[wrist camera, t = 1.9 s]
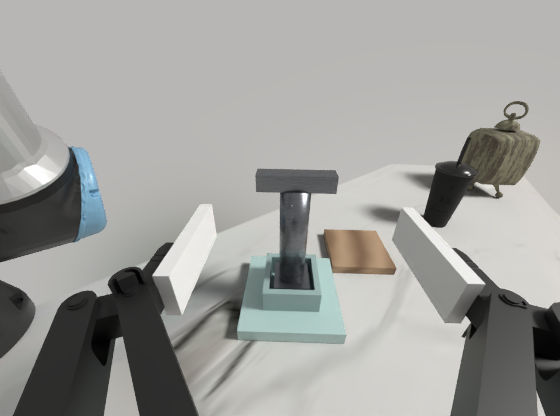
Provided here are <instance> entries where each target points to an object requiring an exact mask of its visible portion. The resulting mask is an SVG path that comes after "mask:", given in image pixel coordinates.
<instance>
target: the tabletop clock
mask: <svg viewBox="0 0 560 416" xmlns="http://www.w3.org/2000/svg"><path fill="white" fill-rule="evenodd" d="M512 104H520V105H523V106H524V107H525V110H526V111H525V114H524V115H522V116H519V117H515V116H516V113H512V114H511V115H508V114H507V113H506V109H507V108H508V107H509V106H510V105H512ZM528 109H529V108H528V105H527V104H526V103H524V102H520V101H515V102H512V103H510V104H508V105H507V106H506V107H505V109H504V115H505V116H506V117H507V118H509V119H508V120H504V121H501V122H499V123H498V124H497V125H496V126H495V128H480V129H477V130H475V131H473V132H471V134H470V135H469V136H468V137H470V138H471V141H470V143H469V145H468V148H467V150H466V152H465V155H464V157H463V159H462V163H466V164H468V165H470V166H471V167H473V168H474V169H476V170H478V172H479V174H478V175H477V176H476V177H475V178H474V180H473V181H472V183H471V184H470V186H469V188H468V189H469V190H471V189H473V184H474V183H475V182H478V183H481V184H492V185H493V186H494V187H495V189H496V191H497V193H496V194H495V196H496V197H497V198H501V197H502V196H503V194H502V193H501V192H499V185H515V184H516V183H517V182H518V181H519V180H520V179H521V178H522V177H523V175H524V174H525V172H526V171H527V169H528V168H529V167H530V165H531V163H532V161H533V159H534V157H535V155H536V153H537V150H538V148H539V144H540V140H539V139H538V138H537V137H536V136H535V135H532V134H529V133H527V132H524V131H521V130H520V124H519V123H518V122H517V121H514V119H521V118H523V117H524V116H525V115H526V114H527V113H528ZM496 128H498V129H496ZM463 147H464V146H463ZM461 152H462V151H461Z"/></svg>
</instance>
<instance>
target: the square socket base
mask: <svg viewBox="0 0 560 416" xmlns="http://www.w3.org/2000/svg"><path fill="white" fill-rule="evenodd" d="M279 256H280V254H268V253H267V257H266V256H252V257H251V262H250V267H249V272H248V277H247V282H246V287H245V292H244V297H243V302H242V308H241V313H240V318H239V323H238V328H237V335H238V340H256V341H284V342H313V343H341V344H344V342H345V338H346V331H345V326H344V322H343V318H342V313H341V309H340V304H339V300H338V295H337V291H336V286H335V282H334V277H333V273H332V268H331V264H330V260H329V258H316V255H306V256H305V263H307V266H308V276H309V286H310V290H293V289H274V275H275V262H279Z"/></svg>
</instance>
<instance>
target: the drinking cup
mask: <svg viewBox="0 0 560 416" xmlns="http://www.w3.org/2000/svg"><path fill="white" fill-rule="evenodd" d="M470 141H471V138H470V137H468V138H467V140H466V142H465V144H464V147H463V149H462V152H461V154H460V156H459V159H458V161H447V162H441V163H437V164H436V165H435V168H436V171H435V174H434V178H433V182H432V186H431V190H430V194H429V198H428V201H427V205H426V209H425V213H424V217H423V219H424V220H425V221H426V222H427V223H428V224H429V225H431V226H434V227H445V226H446V224H447V223H448V221H449V219H450V218H451V216H452V214H453V213H454V211H455V209H456V208H457V206H458V204H459V203H460V201H461V199H462V198H463V196H464V194H465V193H466V191H467V189H468V188H469V186H470V184H471V183H472V181H473V180H474V178H475V177H476V176H477V175H478V174H479V172H478V170H476V169H474V168H473V167H471V166H470V165H468V164H466V163H462V159H463V157H464V155H465V152H466V150H467V148H468V145H469V143H470Z"/></svg>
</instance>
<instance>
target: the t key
mask: <svg viewBox="0 0 560 416" xmlns="http://www.w3.org/2000/svg"><path fill="white" fill-rule="evenodd" d="M338 178H339V177H338V175H337V173H336V171H335V170H289V169H258V170H257V173H256V192H280V256H279V262H275V275H274V289H293V290H310V286H309V276H308V266H307V263H305V256H306V245H307V233H308V222H309V211H310V200H311V193H324V194H336V191H337V185H338Z"/></svg>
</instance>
